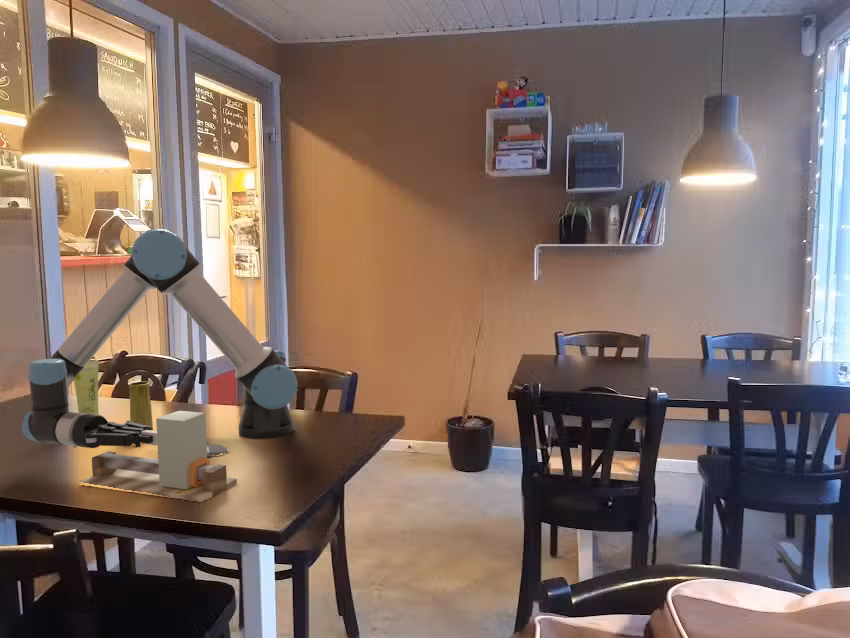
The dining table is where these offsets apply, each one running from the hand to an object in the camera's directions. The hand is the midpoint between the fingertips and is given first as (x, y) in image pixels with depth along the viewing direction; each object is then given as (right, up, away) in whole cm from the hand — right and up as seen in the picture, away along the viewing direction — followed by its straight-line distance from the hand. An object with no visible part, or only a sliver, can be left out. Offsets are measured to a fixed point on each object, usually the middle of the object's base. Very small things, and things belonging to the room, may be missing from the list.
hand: (167, 439), depth 142 cm
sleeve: (+4, -9, 0) cm, 10 cm away
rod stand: (-3, -10, +2) cm, 11 cm away
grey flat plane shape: (-1, -9, +23) cm, 25 cm away
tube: (-42, -6, +49) cm, 65 cm away
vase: (-24, -6, +43) cm, 50 cm away
